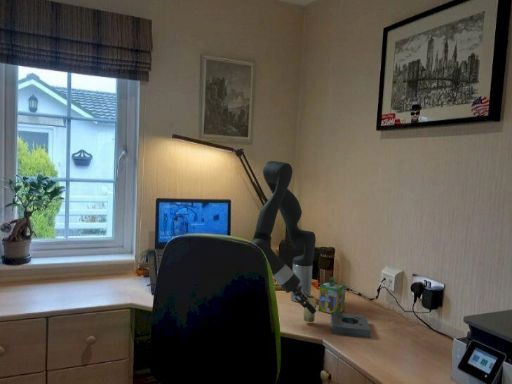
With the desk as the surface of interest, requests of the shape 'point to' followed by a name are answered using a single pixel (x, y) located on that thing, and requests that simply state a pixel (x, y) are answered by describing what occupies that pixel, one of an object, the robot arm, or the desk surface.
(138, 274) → the desk surface
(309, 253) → the robot arm
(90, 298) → the desk surface
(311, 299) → the brass sleeve
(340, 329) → the jig plate
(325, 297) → the chalk box
